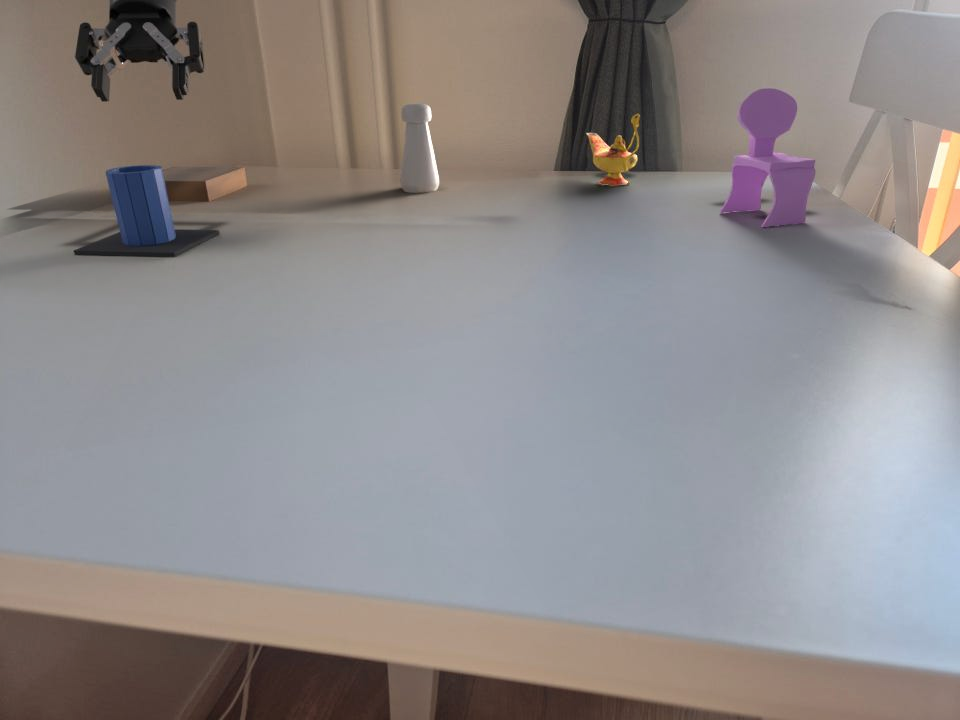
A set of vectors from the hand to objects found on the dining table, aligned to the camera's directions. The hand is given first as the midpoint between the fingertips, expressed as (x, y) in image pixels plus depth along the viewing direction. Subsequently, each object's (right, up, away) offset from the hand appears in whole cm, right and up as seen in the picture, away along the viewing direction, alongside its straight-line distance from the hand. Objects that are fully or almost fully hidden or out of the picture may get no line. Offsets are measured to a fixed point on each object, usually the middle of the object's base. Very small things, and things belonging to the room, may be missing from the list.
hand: (140, 95), depth 81 cm
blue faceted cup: (+3, -18, -3) cm, 18 cm away
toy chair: (+76, -14, +3) cm, 77 cm away
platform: (-2, -8, +20) cm, 22 cm away
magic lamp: (+62, -3, +28) cm, 68 cm away
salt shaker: (+32, -8, +19) cm, 38 cm away
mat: (+3, -18, -3) cm, 19 cm away
